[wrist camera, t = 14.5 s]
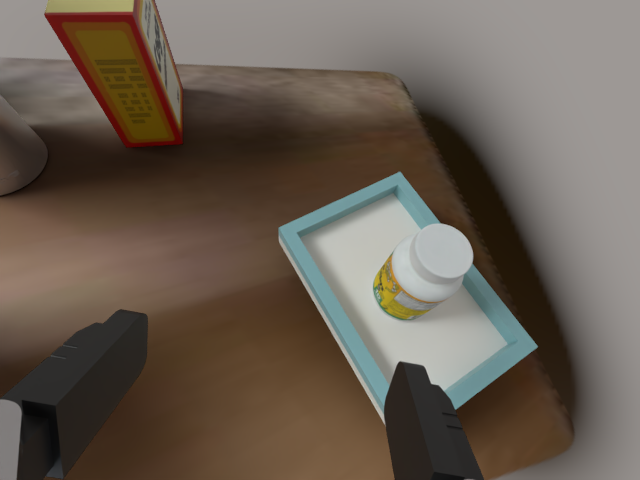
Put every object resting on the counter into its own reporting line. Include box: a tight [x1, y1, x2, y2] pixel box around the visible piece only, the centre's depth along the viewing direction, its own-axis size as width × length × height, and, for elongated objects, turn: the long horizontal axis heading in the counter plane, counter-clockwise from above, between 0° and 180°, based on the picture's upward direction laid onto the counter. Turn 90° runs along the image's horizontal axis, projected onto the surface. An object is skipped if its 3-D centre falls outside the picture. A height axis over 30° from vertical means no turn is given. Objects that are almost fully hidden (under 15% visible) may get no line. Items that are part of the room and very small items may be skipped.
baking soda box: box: [44, 0, 183, 148], centre depth 36 cm, size 10×6×16 cm
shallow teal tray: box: [279, 172, 538, 426], centre depth 33 cm, size 20×14×6 cm
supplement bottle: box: [372, 224, 473, 321], centre depth 27 cm, size 5×5×10 cm
